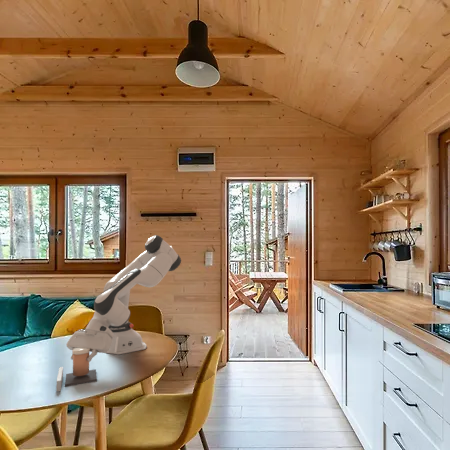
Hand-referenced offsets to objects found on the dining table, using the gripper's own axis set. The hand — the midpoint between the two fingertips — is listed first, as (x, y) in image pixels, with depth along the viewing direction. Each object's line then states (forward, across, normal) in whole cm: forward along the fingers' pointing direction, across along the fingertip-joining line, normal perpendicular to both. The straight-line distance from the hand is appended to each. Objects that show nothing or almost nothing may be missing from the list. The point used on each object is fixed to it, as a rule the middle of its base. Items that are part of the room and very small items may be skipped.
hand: (80, 360), depth 139 cm
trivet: (+5, 0, +6) cm, 8 cm away
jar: (+4, 0, +4) cm, 6 cm away
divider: (+10, -5, +1) cm, 11 cm away
